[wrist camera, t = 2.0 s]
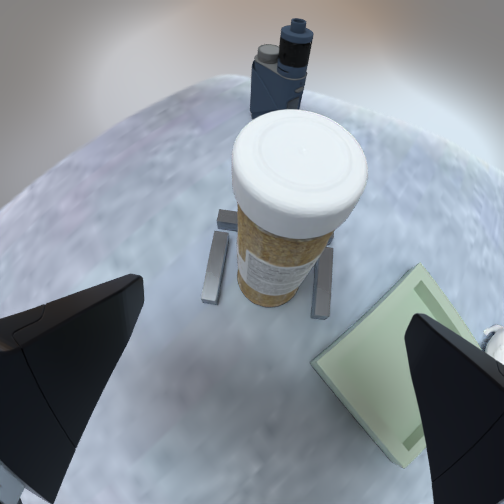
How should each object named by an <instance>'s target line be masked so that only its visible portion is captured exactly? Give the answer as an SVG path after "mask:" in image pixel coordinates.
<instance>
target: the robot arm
mask: <svg viewBox="0 0 504 504" xmlns="http://www.w3.org/2000/svg"><path fill="white" fill-rule="evenodd" d="M143 304H144V286H143V278H142V276H140V275H135V274H128V275H125V276H122V277H119V278H116V279H114V280H111V281H108V282H105V283H102V284H99V285H97V286H94V287H91V288H88V289H85V290H82V291H80V292H77V293H74V294H71V295H68V296H66V297H63V298H60V299H57V300H55V301H52V302H49V303H46V305H45V304H43V305H41V306H38V307H35V308H32V309H29V310H27V311H24V312H21V313H17V314H14V315H11V316H8V317H4V318H1V319H0V504H22V502H21V499H20V496H21V494H22V492H23V490H24V488H26V489H27V490H29V491H30V492H32V493H33V494H35V495H37V496H38V497H40V498H42V499H43V500H45V501H47V502H48V503H50V504H53V503H54V501H55V499H56V496H57V494H58V491H59V489H60V486H61V484H62V481H63V479H64V476H65V474H66V471H67V469H68V467H69V464H70V462H71V459H72V457H73V455H74V453H75V450H76V449H75V448H77V445H78V443H79V441H80V439H81V436H82V434H83V432H84V430H85V428H86V425H87V423H88V421H89V419H90V417H91V415H92V413H93V410H94V408H95V406H96V404H97V402H98V400H99V398H100V396H101V394H102V392H103V390H104V388H105V386H106V384H107V382H108V380H109V378H110V376H111V374H112V372H113V370H114V368H115V366H116V364H117V362H118V361H119V359H120V357H121V355H122V353H123V351H124V349H125V347H126V345H127V343H128V341H129V339H130V337H131V334H132V332H133V329H134V327H135V324H136V322H137V319H138V317H139V314H140V312H141V309H142V307H143ZM404 340H405V346H406V351H407V357H408V363H409V369H410V375H411V379H412V383H413V387H414V391H415V395H416V399H417V404H418V408H419V412H420V417H421V422H422V427H423V432H424V437H425V442H426V448H427V454H428V460H429V466H430V473H431V481H432V490H433V500H434V504H504V365H503V364H502V363H500V362H499V361H497V360H495V359H494V358H493V357H491V356H490V355H488V354H487V353H485V352H484V351H482V350H481V349H479V348H478V347H476V346H475V345H473V344H472V343H470V342H469V341H467V340H466V339H464V338H462V337H461V336H459V335H458V334H456V333H455V332H453V331H452V330H450V329H448V328H447V327H445V326H444V325H442V324H441V323H439V322H437V321H436V320H434V319H433V318H431V317H429V316H428V315H426V314H422V313H415V314H414V315H413V316H412V318H411V321H410V323H409V325H408V327H407V330H406V332H405V335H404Z"/></svg>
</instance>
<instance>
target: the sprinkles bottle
mask: <svg viewBox="0 0 504 504" xmlns="http://www.w3.org/2000/svg"><path fill="white" fill-rule="evenodd" d="M367 178H368V166H367V161H366V157H365V155H364V152H363V150H362V148H361V146H360V145H359V143H358V142H357V140H356V139H355V138H354V137H353V136H352V135H351V133H349V132H348V131H347V130H346V129H345V128H344V127H342V126H341V125H340V124H338V123H337V122H335V121H333V120H331V119H329V118H327V117H325V116H323V115H320V114H317V113H314V112H310V111H304V110H294V109H287V110H278V111H273V112H269V113H266V114H264V115H261V116H259V117H257V118H255V119H254V120H252V121H251V122H249V123H248V124H247V125H246V126H245V127H244V128H243V129H242V130H241V131H240V133H239V135H238V136H237V138H236V140H235V142H234V146H233V150H232V186H233V192H234V195H235V198H236V200H237V203H238V214H237V215H238V237H237V263H238V274H237V279H238V284H239V286H240V289H241V291H242V292H243V294H244V295H245V296H246V297H247V298H248V299H249V300H250V301H252V302H253V303H254V304H258V305H261V306H265V307H275V306H280V305H281V304H284V303H286V302H287V301H289V300H290V299H291V298H292V297H293V296H294V295H295V293H296V292H297V290H298V287H299V285H300V284H301V283H302V282H303V280H304V279H305V277H306V276H307V274H308V273H309V272H310V270H311V269H312V267H313V266H314V264H315V263H316V261H317V260H318V258H319V257H320V255H321V254H322V252H323V251H324V249H325V247H326V246H327V243H328V240H329V239H330V237H331V235H332V234H333V232H334V231H335V229H337V228H338V227H339V226H341V225H342V224H343V223H344V222H345V221H346V219H347V218H348V217H349V215H350V214H351V212H352V211H353V209H354V208H355V206H356V204H357V203H358V201H359V199H360V197H361V195H362V193H363V191H364V189H365V186H366V183H367Z"/></svg>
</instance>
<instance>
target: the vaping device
mask: <svg viewBox="0 0 504 504" xmlns="http://www.w3.org/2000/svg"><path fill="white" fill-rule="evenodd" d="M312 39H313V32H312V31H311V30H309V29H307V28H306V21H305V20H303V19H298V18H295V19H292V20H291V25H289V26H284V27H282V29H281V37H280V45H279V47H278V46H276V45H271V44H266V45H261V46H260V47H259V48H258V54H257V55H256V56H255V58H254V59H255V60H254V61H253V64H252V75H251V100H250V111H251V113H252V118H253V120H254V119H255V118H257V117H259V116H261V115H264V114H266V113H269V112H273V111H278V110H287V109H294V110H299V108H300V103H301V98H302V94H303V90H304V85H305V80H306V76H307V72H306V70H307V66H308V60H309V55H310V49H311V44H312ZM310 42H311V43H310Z"/></svg>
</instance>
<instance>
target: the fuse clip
mask: <svg viewBox="0 0 504 504" xmlns="http://www.w3.org/2000/svg"><path fill="white" fill-rule="evenodd" d="M237 214H238V212H236V211H228V210H221V209H219V213H218V218H217V226H218V229H225V230H232V231H238V215H237ZM333 237H334V232H333V234H332V235H331V237H330V239H329V240H328V243H327V245H329V244H330V243H331V241H332V240H333ZM228 243H229V234H228V233H226V232H219V231H214V236H213V241H212V245H211V250H210V255H209V260H208V265H207V270H206V275H205V280H204V285H203V290H202V295H201V300H202V302H203V303H208V304H214V305H217V302H218V297H219V291H220V286H221V280H222V275H223V269H224V264H225V258H226V253H227V248H228ZM332 264H333V248H329V247H325V249H324V251H323V252H322V254H321V255H320V257H319V258H318V260H317V261H316V263H315V276H314V289H313V301H312V312H311V318H315V319H324V320H325V319H326V318H328V317H329V313H330V299H331V283H332Z"/></svg>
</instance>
